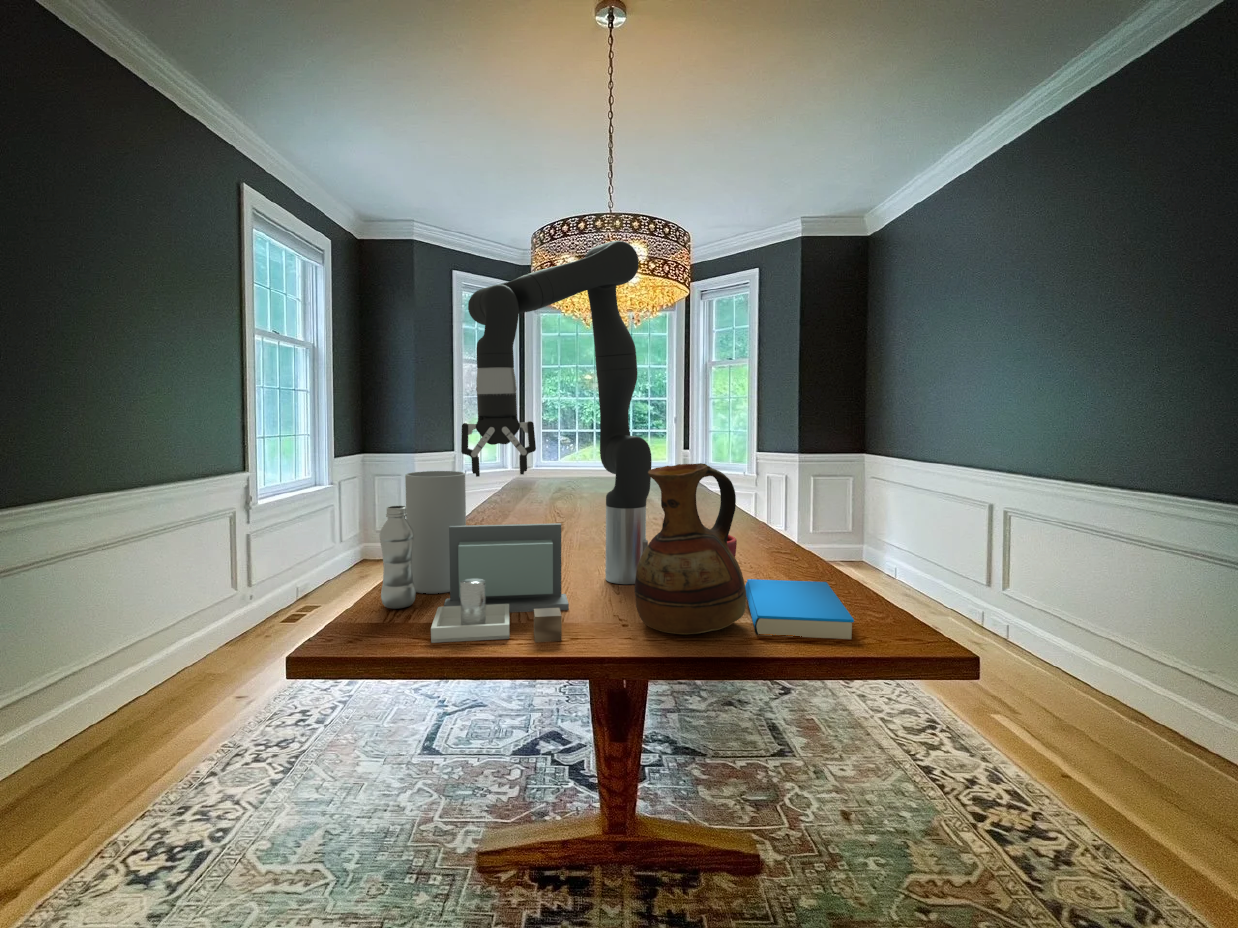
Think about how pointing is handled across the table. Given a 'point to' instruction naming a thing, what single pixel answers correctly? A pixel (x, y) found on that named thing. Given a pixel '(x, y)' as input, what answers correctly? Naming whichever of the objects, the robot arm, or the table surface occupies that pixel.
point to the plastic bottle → (397, 559)
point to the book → (797, 609)
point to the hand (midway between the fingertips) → (499, 475)
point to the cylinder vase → (433, 524)
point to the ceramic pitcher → (690, 559)
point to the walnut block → (547, 625)
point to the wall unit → (509, 564)
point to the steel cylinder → (473, 601)
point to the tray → (451, 629)
